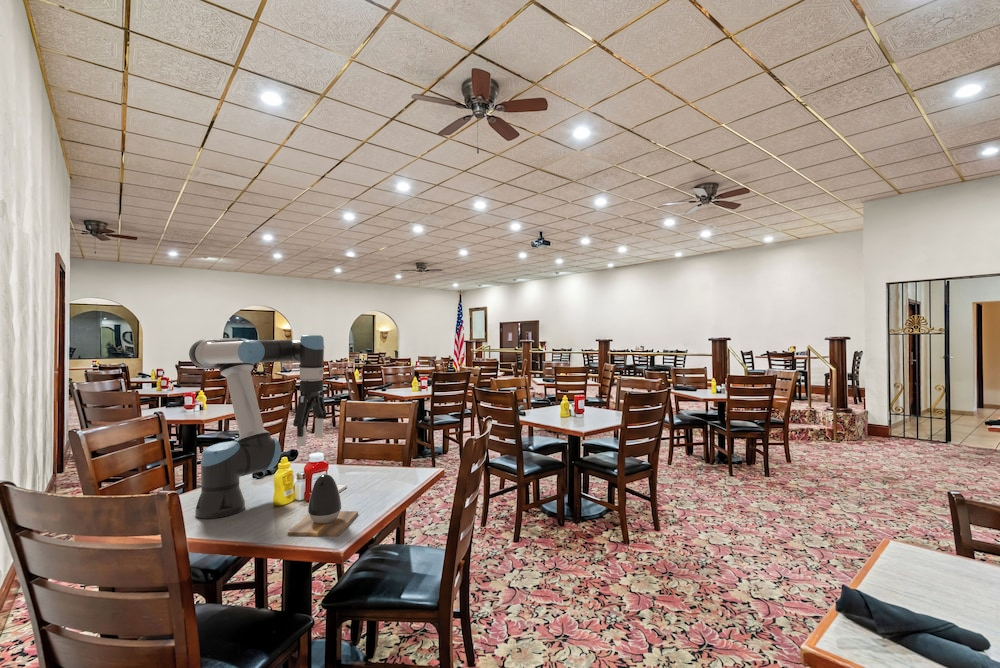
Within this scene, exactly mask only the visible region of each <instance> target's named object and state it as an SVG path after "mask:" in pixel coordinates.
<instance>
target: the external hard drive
mask: <svg viewBox="0 0 1000 668" xmlns="http://www.w3.org/2000/svg"><path fill="white" fill-rule="evenodd" d="M336 485H337V488H338V491H339V493H340V492H342V491H344V490H345V488H346V489H347V488H348V485H347V484H336Z"/></svg>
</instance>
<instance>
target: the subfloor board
mask: <svg viewBox="0 0 1000 668" xmlns="http://www.w3.org/2000/svg"><path fill="white" fill-rule="evenodd" d="M357 516H359V511H353V510H352V511H349V510H346V511H345V510H343V511H342V510H340V513H339V515H338V517H337V518H336V519H335V520H334V521H332V522H330V523H326V524H319V523H316V522H314V521H313V520H312V519H311V517H310V514H309V513H308V514H307V515H306V516H305V517H303V519H301V520H300V521H299V522H298V523H296V524H295V525H294V526H293V527H292V528H291V529H290V530H288V531H287V536H295V537H297V536H300V537H301V536H302V535H303V536H305V537H307V535H308V536H309V537H310V536H311V537H312V536H313V537H315V536H317V537H319V536H320V537H340V535H341V534H342V532H344V531H345V529H346V528H347V527H348V526H349V525H350V524H351V523H352V521H354V519H355V518H356V517H357Z"/></svg>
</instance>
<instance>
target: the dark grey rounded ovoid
mask: <svg viewBox="0 0 1000 668" xmlns="http://www.w3.org/2000/svg"><path fill="white" fill-rule="evenodd" d="M337 485H338V484H337V483H336V481H335V479H334V478H333V476H332V475H330V474H325V473H324V474H322V475H319V476H318V477H317V478H316V480H315V482H314V484H313V487H312V489H311V492H310V497H309V501H308V509H307V510H308V511H307V513H308V514H310V517H311V519H312V520H313V521H314V522H316V523H319V524H326V523H330V522H332V521H334V520H335V519H336V518H337V517H338V515H339V513H340V511H342V501H341V495H340V492H339V491H338V488H337Z"/></svg>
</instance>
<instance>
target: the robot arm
mask: <svg viewBox="0 0 1000 668" xmlns="http://www.w3.org/2000/svg"><path fill="white" fill-rule="evenodd" d="M324 340H325V339H324V337H323V336H322V335H321V334H320V335H318V334H302V335H301V336H300V339H293V338H291V339H272V340H271V339H257V340H256V339H248V338H243V337H242V338H240V337H233V338H232V337H228V338H225V337H224V338H223V337H222V338H213V337H212V338H208V337H207V338H202V339H200V340H196V341H195V342H194V343H193V344H192V345H191V346H190V348H189V352H188V357H189V360H190V361H191V363H192V364H194V365H195V366H197V367H198V368H203V369H208V370H210V369H219V372H220V376H223V377H225V378H226V379H225V380H226V383H227V387H228V391H229V396H230V400H231V404H232V408H233V412H234V413H233V414H234V417H235V421H236V426H237V431H238V436H239V437H238V438H237V440H236V441H233V440H231V441H223V442H218V443H215V444H212V445H210V446H207V447H206V448H204V450H203V451H202V453H201V459H200V467H201V469H200V474H201V480H200V481H201V482H200V485H201V488H200V489H201V491H200V494H199V497H198V500H197V503H196V506H195V510H194V511H195V517H196V516H197V518H198V517H199V518H200V519H205V518H210V519H218V518H217V517H220V518H223V516H225V517H229V516H233V515H236V514H238V513H240V512H241V511H243V510H244V509H245V507H246V500H245V498H244V496H243V492H242V490H241V488H240V478H241V477H245V476H249V475H252V474H257V473H260V472H265V471H267V470H270V469H271V470H272V469H273V468H275V466H277V464H278V463H279V460H280V458H281V451H282V450H281V444H280V441H279V440H278V439H277V438H276V437H272V436H271V433H270V431H268V430H266V429H265V426H264V422H263V417H262V414H261V410H260V406H259V401H258V398H257V394H256V390H255V385H254V381H253V377H252V373H251V372H252V370H253V369H254V365H255V364H259V363H278V362H280V363H281V362H299V379H300V381H299V391H300V392H302V393H303V395H299V396H298V400H297V407H296V410H295V415H294V419H293V422H292V423H293V427H296V447H306V445H307V443H306V442H307V440H306V439H307V426H306V422H307V420H308V417H309V414H310V411H311V410H312V409H313V413H314V415H315V417H316V418H315V419H314V437H316V438H323V437H324V419H326V418H327V410H326V406H325V405H326V404H325V400H324V391H323V390H324V380H323V379H324V373H325V370H324V358H325V357H324V356H325V355H324V353H325V342H324ZM232 514H233V515H232ZM228 515H229V516H228ZM199 518H198V519H199Z"/></svg>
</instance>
